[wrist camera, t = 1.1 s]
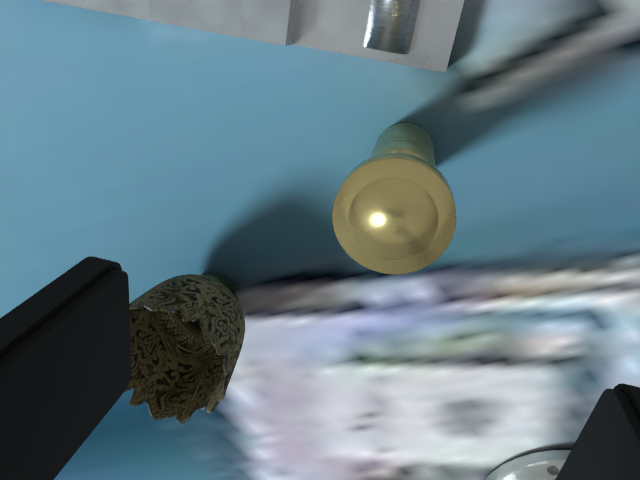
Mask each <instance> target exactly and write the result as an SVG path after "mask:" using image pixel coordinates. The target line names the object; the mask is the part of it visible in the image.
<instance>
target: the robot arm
mask: <svg viewBox="0 0 640 480" xmlns="http://www.w3.org/2000/svg"><path fill="white" fill-rule="evenodd" d="M130 379H131V343H130V314H129V286H128V275H127V273H126V272H124V271H122V268H121V266H120V264H119V263H117V262H113V261H109V260H105V259H101V258H97V257H87V258H85V259H84V260H82V261H81V262H79V263H78V264H77V265H75V266H74V267H72V268H71V269H69V270H68V271H67V272H65V273H64V274H62V275H61V276H60V277H58V278H57V279H55V280H54V281H53V282H51V283H50V284H48V285H47V286H45V287H44V288H43V289H41V290H40V291H38V292H37V293H36V294H34V295H33V296H31V297H30V298H29V299H27V300H26V301H24V302H23V303H21V304H20V305H19V306H17V307H16V308H14V309H13V310H12V311H10V312H9V313H7V314H6V315H5V316H3V317H2V318H0V480H54V478H55V477H56V476H57V475H58V473H59V472H60V471H61V470H62V468H63V467H64V466H65V465H66V463H67V462H68V461H69V460H70V458H71V457H72V456H73V455H74V453H75V452H76V451H77V450H78V448H79V447H80V446H81V445H82V443H83V442H84V441H85V440H86V439H87V437H88V436H89V435H90V434H91V432H92V431H93V430H94V429H95V427H96V426H97V425H98V424H99V422H100V421H101V420H102V419H103V417H104V416H105V415H106V414H107V412H108V411H109V410H110V409H111V407H112V406H113V405H114V404H115V402H116V401H117V400H118V399H119V397H120V396H121V395H122V394H123V392H124V391H125V390H126V388H127V386H128V384H129V382H130ZM485 480H640V388H639V387H635V386H631V385H627V384H618V385H617V386H615V387H614V389H606V390H605V391H604V392H603V393H602V395H601V397H600V398H599V400H598V402H597V404H596V406H595V408H594V409H593V411H592V413H591V415H590V417H589V419H588V420H587V422H586V424H585V426H584V428H583V430H582V432H581V433H580V435H579V437H578V439H577V441H576V443H575V444H574V446H573V448H572V450H551V451H544V452H536V453H532V454H529V455H525V456H522V457H518V458H516V459H514V460H512V461H509V462H507V463H505V464H503V465H501V466H500V467H499V468H497V469H496V470H494V471H493V472H492V473H490V474H489V475H488V477H487V478H486V479H485Z"/></svg>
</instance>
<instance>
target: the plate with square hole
mask: <svg viewBox="0 0 640 480" xmlns="http://www.w3.org/2000/svg"><path fill="white" fill-rule="evenodd" d="M43 1H48V2H53V3H59V4H64V5H69V6H75V7H80V8H86V9H91V10H96V11H102V12H107V13H112V14H118V15H123V16H128V17H134V18H139V19H145V20H150V21H155V22H161V23H166V24H171V25H177V26H182V27H187V28H193V29H198V30H204V31H209V32H214V33H220V34H225V35H230V36H236V37H241V38H246V39H252V40H257V41H263V42H268V43H273V44H279V45H284V46H287V45H293V44H294V45H299V46H305V47H310V48H315V49H321V50H326V51H332V52H337V53H342V54H348V55H353V56H359V57H364V58H369V59H375V60H380V61H385V62H391V63H396V64H402V65H407V66H412V67H418V68H423V69H429V70H434V71H439V72H445V73H446V70H447V66H448V62H449V58H450V54H451V50H452V46H453V43H454V39H455V35H456V31H457V27H458V23H459V19H460V16H461V12H462V8H463V4H464V0H43Z"/></svg>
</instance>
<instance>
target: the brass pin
mask: <svg viewBox="0 0 640 480" xmlns="http://www.w3.org/2000/svg"><path fill="white" fill-rule="evenodd" d="M332 221H333V227H334V231H335V234H336V237H337V239H338V241H339V243H340V244H341V246H342V248H343V249H344V250H345V251H346V253H347V254H348V255H349V256H350V257H351V258H352V259H354V260H355V261H356V262H358V263H359V264H361V265H362V266H364V267H366V268H368V269H371V270H373V271H377V272H380V273H386V274H405V273H410V272H414V271H417V270H420V269H422V268H424V267H426V266H428V265H429V264H431V263H433V262H434V261H435V260H436V259H438V258H439V257H440V256H441V255H442V254H443V252H444V251H445V250H446V248H447V247H448V245H449V243H450V242H451V240H452V237H453V234H454V231H455V226H456V210H455V203H454V198H453V193H452V191H451V188H450V186H449V184H448V182H447V180H446V179H445V177H444V176H443V175H442V173H441V172H440V171H439V170H438V169H437V168H435V152H434V144H433V141H432V139H431V137H430V135H429V134H428V133H427V132H426V131H425V130H424V129H423V128H421V127H420V126H418V125H415V124H412V123H398V124H395V125H393V126H391V127H389V128H387V129H386V130H385V131H384V132H383V133H382V134H381V135H380V137H379V138H378V140H377V143H376V145H375V147H374V150H373V152H372V155H371V157H370V158H369V159H367V160H365V161H363V162H362V163H360V164H359V165H358V166H356V167H355V168H354V169H353V170H352V171H351V172H350V173H349V174H348V176H347V177H346V178H345V180H344V182H343V184H342V185H341V187H340V189H339V191H338V193H337V196H336V198H335V201H334V205H333V212H332Z"/></svg>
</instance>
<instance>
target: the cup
mask: <svg viewBox="0 0 640 480" xmlns="http://www.w3.org/2000/svg"><path fill="white" fill-rule="evenodd" d="M129 314H130V343H131V379H130V382H129V384H128V386H127V388H126V390H125V391H128V390H130V389H132V388H134V391H133V395H132V398H131V400H130V401H129V402H130V405H132V406H137V405H140V404H142V403H143V401H146V402H145V403H146V404H147V403H148V404H147V405H148V406H149V412H150V414H151V416H152V417H153V419H155V420H164V419H167V418H171V417H173V416H176V419H177V421H178V422H179V423H181V424H182V423H185V422H187V421H188V420H189V419H190V417H191V415H192V414H193V413H194V411H195V410H197V409H201V410H203V409H204V408H205V407H207V406H208V409H207V410H208V411H207V412H208V413H212V412H213V411H214V410H215V408H216V407H217V405H218V403H219V401H220V402H221V401H222V400H223V398H224V396H225V393H226V389H227V386H228V384H229V381H230V379H231V376H232V373H233V371H234V368H235V365H236V362H237V360H238V357H239V354H240V351H241V348H242V344H243V340H244V333H245V321H244V314H243V311H242V308H241V306H240V304H239V295H238V292H237V290H236V288H235V287H234V285H233V284H232V283H231V282H230V281H229V280H227V279H226V278H224V277H222V276H220V275H216V274H205V275H193V274H188V275H181V276H176V277H173V278H170V279H168V280H166V281H164V282H162V283H160V284H158V285H156V286H155V287H153V288H151V289H150V290H148V291H147V292H146V293H144V294H143V295H141V296H140V297H138V298H137V299H136V300H134V301H133V302H131V303H130V304H129Z"/></svg>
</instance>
